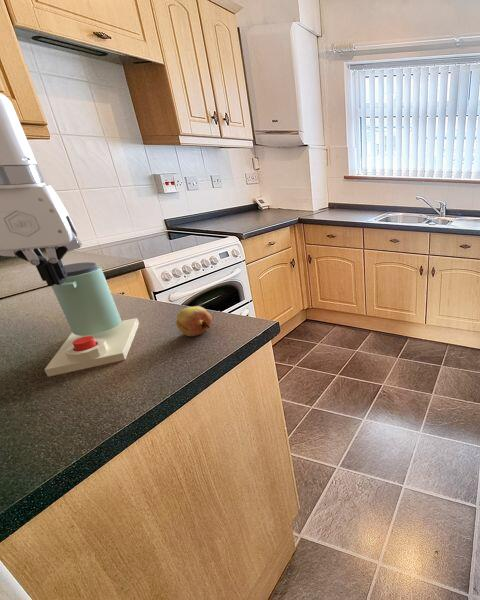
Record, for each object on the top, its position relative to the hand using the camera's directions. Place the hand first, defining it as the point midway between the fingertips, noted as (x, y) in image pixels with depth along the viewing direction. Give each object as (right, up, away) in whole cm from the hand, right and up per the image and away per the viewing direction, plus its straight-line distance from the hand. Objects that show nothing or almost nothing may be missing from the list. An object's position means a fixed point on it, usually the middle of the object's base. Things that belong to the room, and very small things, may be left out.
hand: (57, 282), depth 62 cm
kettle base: (-3, -13, +12) cm, 18 cm away
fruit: (+15, -11, +18) cm, 26 cm away
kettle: (-4, -9, +13) cm, 17 cm away
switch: (0, -13, +6) cm, 14 cm away
